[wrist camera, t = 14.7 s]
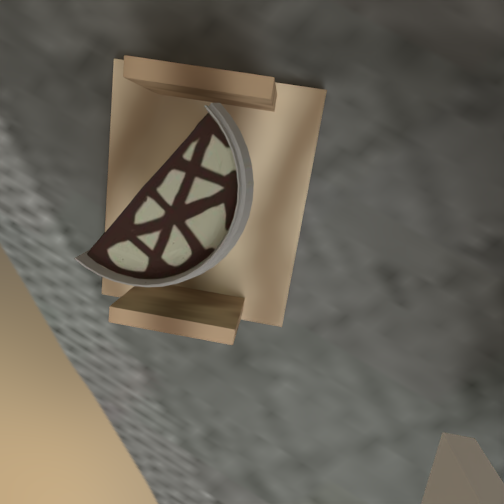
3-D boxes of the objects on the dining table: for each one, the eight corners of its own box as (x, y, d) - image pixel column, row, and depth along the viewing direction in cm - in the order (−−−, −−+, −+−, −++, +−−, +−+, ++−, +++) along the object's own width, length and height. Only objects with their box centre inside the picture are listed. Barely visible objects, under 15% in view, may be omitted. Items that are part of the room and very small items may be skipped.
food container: (191, 282, 31) (148, 336, 22) (137, 231, 31) (68, 265, 21) (296, 176, 28) (300, 185, 19) (238, 118, 28) (212, 96, 18)
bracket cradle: (325, 92, 28) (337, 71, 21) (281, 321, 33) (280, 364, 26) (119, 62, 29) (67, 31, 22) (107, 290, 33) (61, 323, 27)
